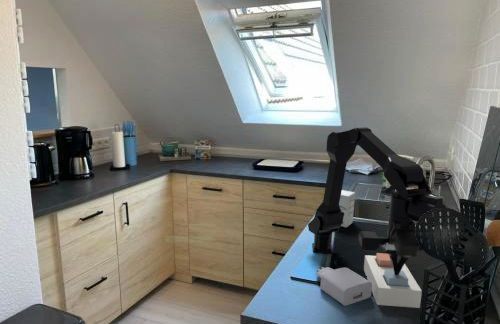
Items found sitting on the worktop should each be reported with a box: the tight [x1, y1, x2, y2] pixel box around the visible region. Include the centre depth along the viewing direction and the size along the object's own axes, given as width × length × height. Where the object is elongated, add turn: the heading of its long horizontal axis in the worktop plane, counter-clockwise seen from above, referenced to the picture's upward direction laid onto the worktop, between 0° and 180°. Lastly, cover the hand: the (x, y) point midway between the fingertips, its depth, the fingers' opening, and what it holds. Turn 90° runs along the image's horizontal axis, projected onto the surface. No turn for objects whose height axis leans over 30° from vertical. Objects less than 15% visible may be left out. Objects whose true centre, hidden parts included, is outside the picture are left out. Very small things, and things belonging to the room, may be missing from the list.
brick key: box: [375, 252, 392, 268], centre depth 105 cm, size 5×5×4 cm
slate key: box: [384, 269, 408, 287], centre depth 95 cm, size 5×5×4 cm
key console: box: [363, 254, 423, 309], centre depth 101 cm, size 18×10×4 cm, turn 173°
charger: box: [315, 266, 372, 307], centre depth 100 cm, size 5×9×15 cm
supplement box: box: [339, 189, 356, 228], centre depth 147 cm, size 7×7×13 cm
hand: (396, 274), depth 95 cm, fingers closed, pressing on slate key
